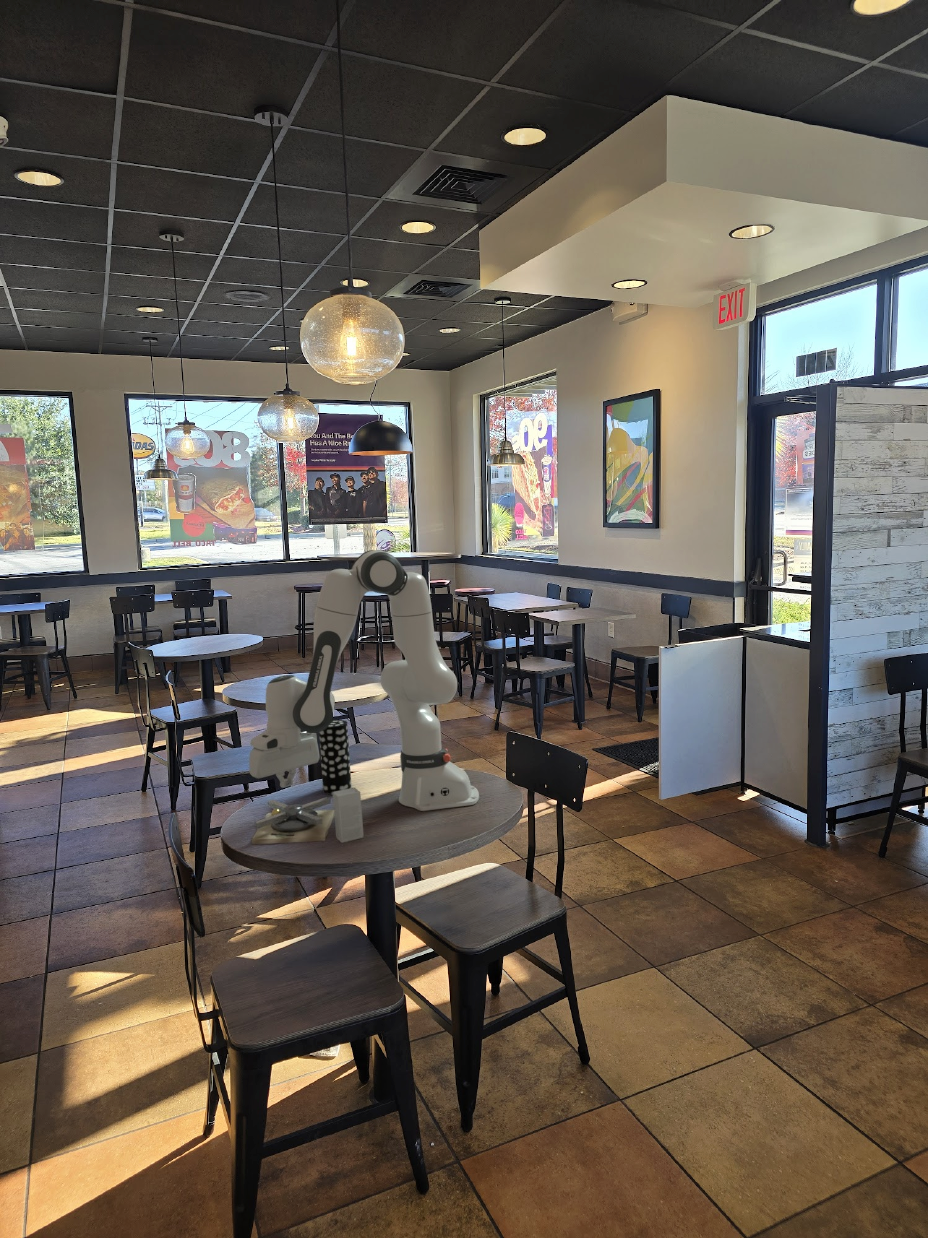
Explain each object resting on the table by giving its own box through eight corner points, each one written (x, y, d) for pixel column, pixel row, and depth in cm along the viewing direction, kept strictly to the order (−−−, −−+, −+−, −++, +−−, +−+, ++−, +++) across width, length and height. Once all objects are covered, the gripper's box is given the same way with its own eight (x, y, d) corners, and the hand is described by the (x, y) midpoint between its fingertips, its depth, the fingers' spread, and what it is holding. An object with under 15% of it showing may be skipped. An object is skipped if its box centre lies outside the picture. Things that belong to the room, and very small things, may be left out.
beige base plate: (334, 814, 216) (334, 809, 215) (324, 840, 198) (324, 835, 198) (268, 817, 215) (267, 812, 215) (251, 844, 197) (251, 838, 197)
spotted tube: (354, 784, 239) (350, 719, 237) (347, 794, 231) (343, 727, 228) (327, 785, 240) (322, 720, 237) (319, 794, 232) (315, 727, 229)
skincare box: (358, 832, 202) (355, 786, 201) (363, 838, 198) (361, 791, 197) (335, 837, 199) (332, 791, 198) (340, 843, 196) (337, 796, 194)
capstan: (331, 809, 215) (330, 794, 214) (322, 834, 198) (321, 817, 198) (269, 812, 214) (268, 797, 214) (254, 837, 198) (253, 821, 197)
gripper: (309, 726, 223) (311, 775, 225) (244, 741, 208) (247, 793, 210) (323, 730, 219) (325, 779, 220) (258, 745, 204) (260, 798, 205)
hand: (286, 786), depth 215 cm, fingers closed
